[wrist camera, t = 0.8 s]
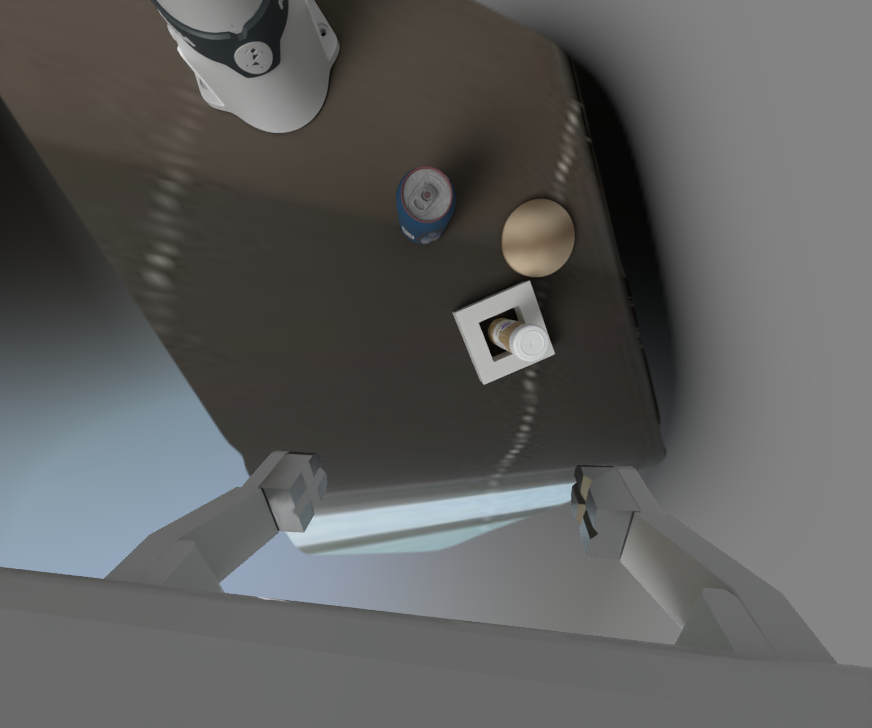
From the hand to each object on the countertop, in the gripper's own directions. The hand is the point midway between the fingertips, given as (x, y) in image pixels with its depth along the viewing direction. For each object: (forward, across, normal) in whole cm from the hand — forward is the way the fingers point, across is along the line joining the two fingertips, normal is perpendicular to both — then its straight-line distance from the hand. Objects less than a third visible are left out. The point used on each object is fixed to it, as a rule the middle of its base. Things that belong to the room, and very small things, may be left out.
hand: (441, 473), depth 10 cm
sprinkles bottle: (+41, -4, +10) cm, 43 cm away
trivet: (+46, -10, -3) cm, 47 cm away
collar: (+41, -4, +10) cm, 43 cm away
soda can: (+43, +7, -7) cm, 44 cm away
